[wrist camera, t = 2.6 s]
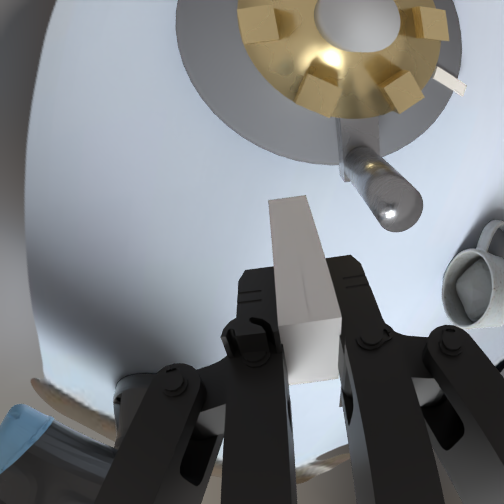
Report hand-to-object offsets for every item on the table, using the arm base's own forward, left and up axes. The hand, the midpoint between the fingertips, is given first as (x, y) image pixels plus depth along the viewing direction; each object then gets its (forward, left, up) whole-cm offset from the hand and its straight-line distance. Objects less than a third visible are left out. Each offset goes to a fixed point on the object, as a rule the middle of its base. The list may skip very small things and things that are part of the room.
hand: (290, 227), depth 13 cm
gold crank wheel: (+5, +7, -9) cm, 13 cm away
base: (+5, +9, -11) cm, 15 cm away
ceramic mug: (+20, -14, -12) cm, 27 cm away
